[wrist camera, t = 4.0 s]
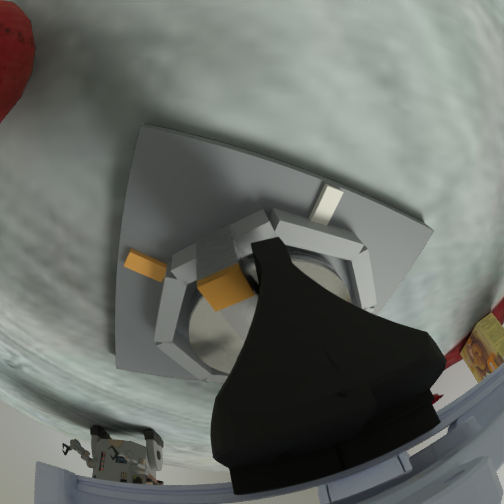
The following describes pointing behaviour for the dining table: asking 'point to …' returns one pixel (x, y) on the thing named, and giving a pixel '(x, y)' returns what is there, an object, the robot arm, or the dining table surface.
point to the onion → (14, 55)
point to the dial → (237, 294)
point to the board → (246, 230)
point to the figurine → (122, 457)
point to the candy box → (484, 347)
